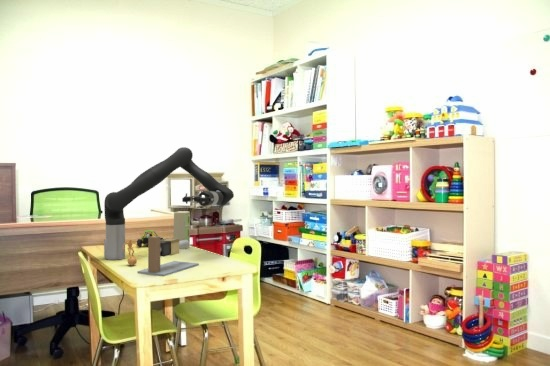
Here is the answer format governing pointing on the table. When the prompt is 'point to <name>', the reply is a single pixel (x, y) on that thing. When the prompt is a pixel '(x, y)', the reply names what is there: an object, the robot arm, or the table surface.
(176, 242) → the sleeve
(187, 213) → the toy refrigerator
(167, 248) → the dark grey slab
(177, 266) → the pipe rig
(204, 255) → the table surface
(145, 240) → the motor vehicle
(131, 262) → the figurine
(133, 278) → the table surface
